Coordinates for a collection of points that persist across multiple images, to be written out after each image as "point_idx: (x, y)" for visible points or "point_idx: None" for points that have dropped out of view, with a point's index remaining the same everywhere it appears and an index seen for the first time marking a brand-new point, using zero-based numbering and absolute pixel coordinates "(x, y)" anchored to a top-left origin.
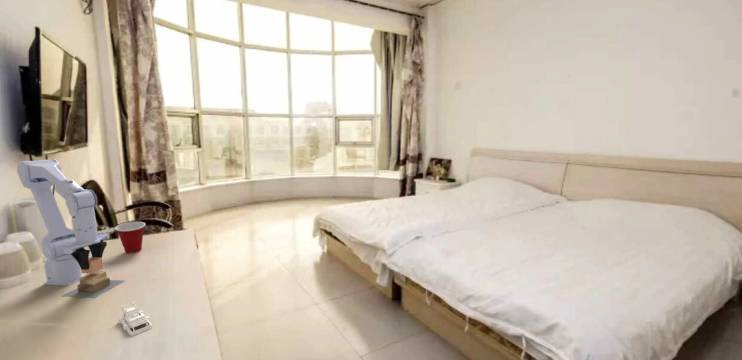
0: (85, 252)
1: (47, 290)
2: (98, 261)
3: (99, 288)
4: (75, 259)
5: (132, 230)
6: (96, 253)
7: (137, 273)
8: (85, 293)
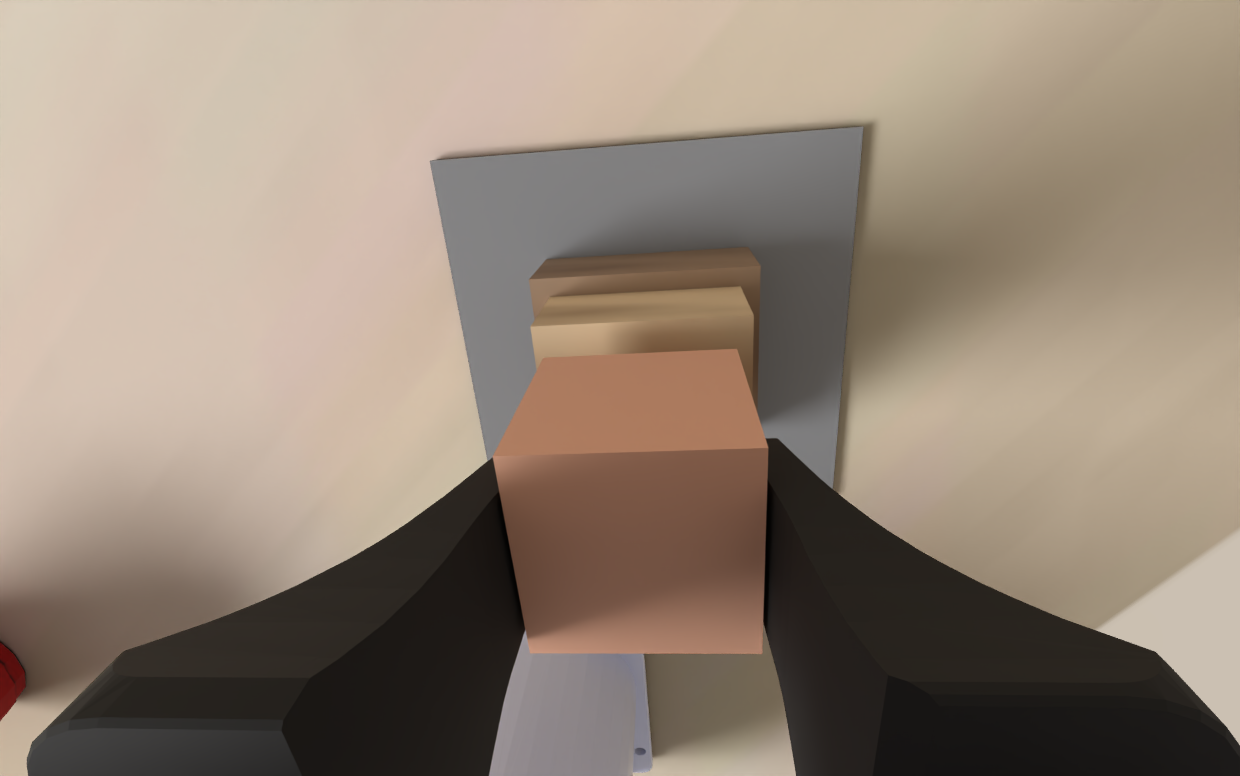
0: (1104, 669)
1: (729, 677)
2: (589, 427)
3: (685, 255)
4: None
5: None
6: (478, 621)
7: (235, 206)
8: (768, 332)
